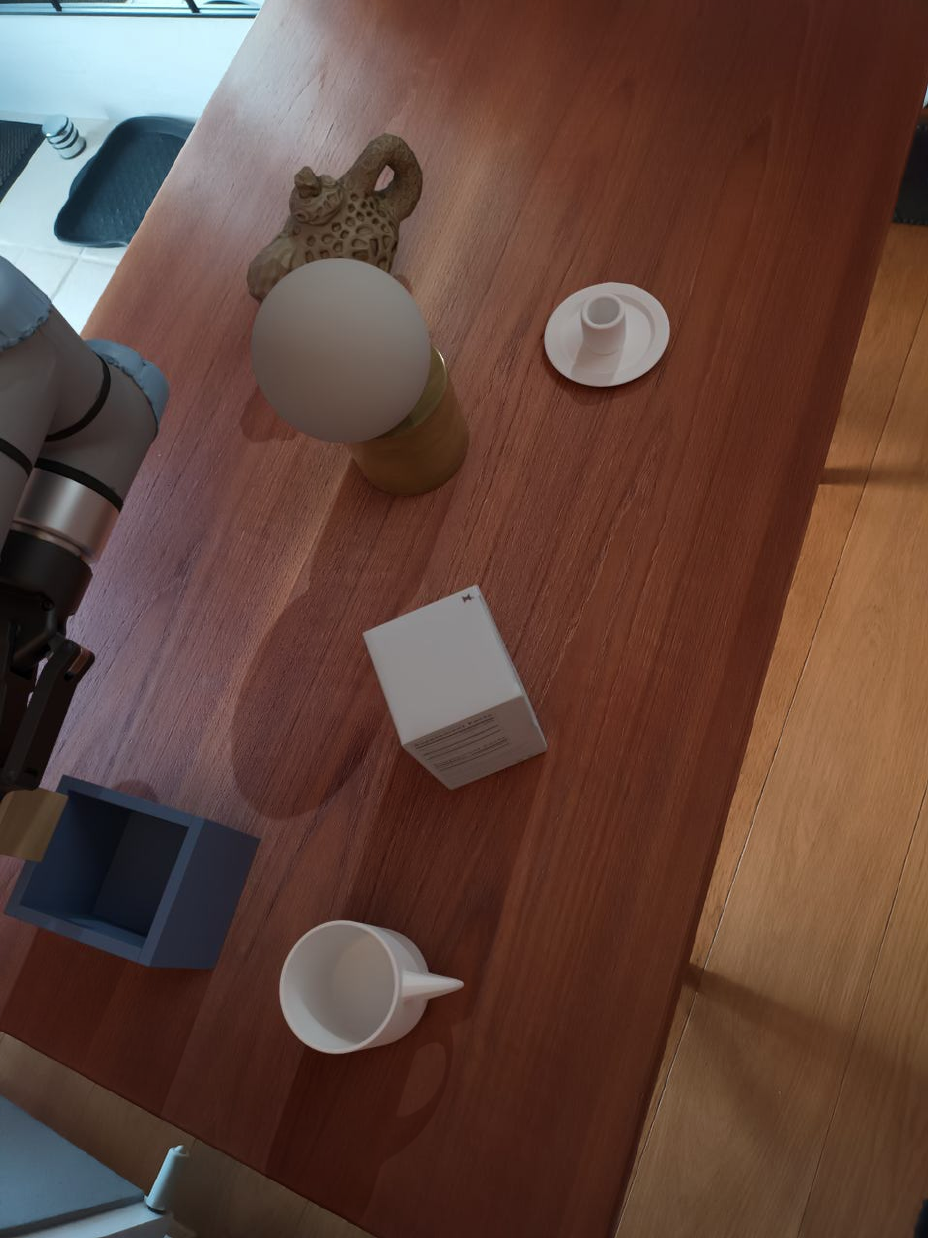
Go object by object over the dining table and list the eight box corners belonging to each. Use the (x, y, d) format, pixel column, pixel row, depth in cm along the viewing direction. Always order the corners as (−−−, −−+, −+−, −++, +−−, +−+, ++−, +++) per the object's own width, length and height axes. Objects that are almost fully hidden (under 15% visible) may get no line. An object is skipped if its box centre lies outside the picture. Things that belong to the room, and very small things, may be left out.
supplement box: (412, 694, 84) (356, 627, 68) (509, 653, 83) (475, 577, 68) (449, 795, 80) (399, 748, 64) (551, 752, 79) (525, 695, 64)
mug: (475, 1046, 73) (446, 1056, 63) (324, 1044, 75) (274, 1053, 65) (475, 928, 76) (448, 919, 66) (330, 929, 78) (283, 920, 68)
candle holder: (620, 267, 96) (619, 236, 92) (695, 344, 91) (696, 314, 87) (522, 332, 95) (515, 304, 91) (591, 412, 90) (588, 386, 86)
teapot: (308, 374, 98) (251, 274, 85) (248, 312, 103) (185, 207, 89) (466, 248, 100) (435, 131, 86) (400, 193, 105) (361, 73, 91)
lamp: (418, 555, 88) (333, 405, 65) (301, 494, 93) (184, 334, 70) (503, 427, 92) (451, 241, 69) (386, 375, 96) (300, 184, 73)
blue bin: (83, 922, 82) (2, 913, 72) (133, 799, 85) (62, 773, 75) (214, 969, 78) (148, 967, 68) (261, 838, 82) (205, 818, 71)
